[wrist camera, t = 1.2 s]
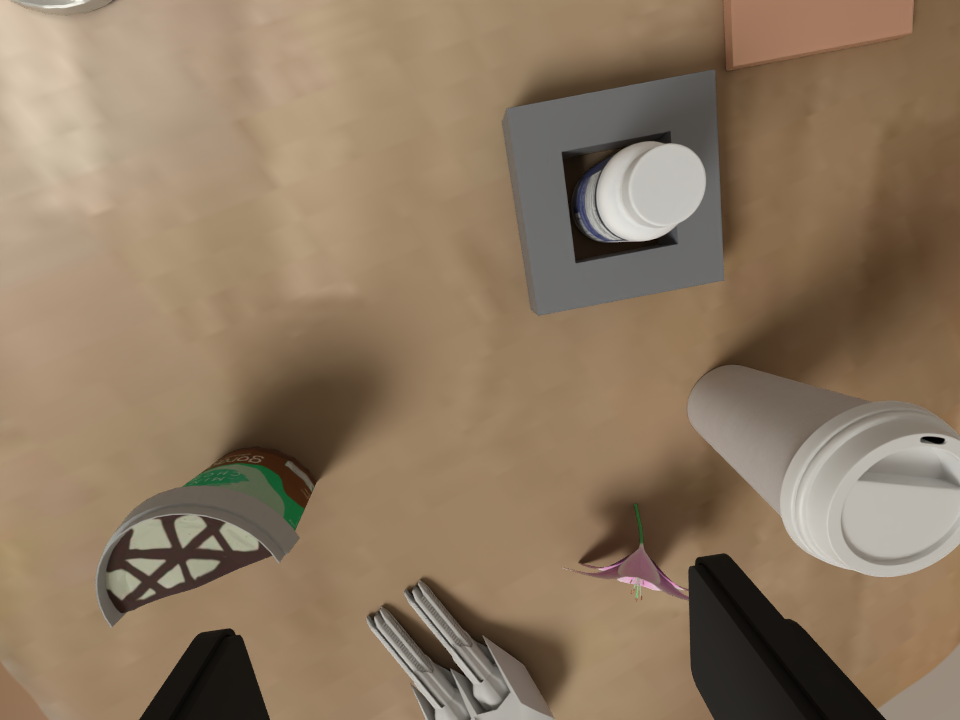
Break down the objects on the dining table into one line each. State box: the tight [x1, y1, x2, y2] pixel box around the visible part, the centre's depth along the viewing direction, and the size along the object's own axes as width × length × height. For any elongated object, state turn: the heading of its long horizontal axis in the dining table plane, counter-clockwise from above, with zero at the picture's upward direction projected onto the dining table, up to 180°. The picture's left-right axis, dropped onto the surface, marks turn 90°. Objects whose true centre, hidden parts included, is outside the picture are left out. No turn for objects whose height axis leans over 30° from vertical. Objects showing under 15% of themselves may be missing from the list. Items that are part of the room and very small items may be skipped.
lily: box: [561, 504, 689, 601], centre depth 36 cm, size 11×11×9 cm
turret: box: [366, 580, 555, 720], centre depth 40 cm, size 10×20×5 cm, turn 37°
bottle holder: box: [502, 69, 724, 316], centre depth 30 cm, size 13×13×3 cm
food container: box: [95, 447, 316, 627], centre depth 31 cm, size 12×6×10 cm, turn 112°
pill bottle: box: [571, 141, 706, 242], centre depth 27 cm, size 5×5×10 cm
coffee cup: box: [687, 365, 960, 577], centre depth 29 cm, size 10×10×15 cm
